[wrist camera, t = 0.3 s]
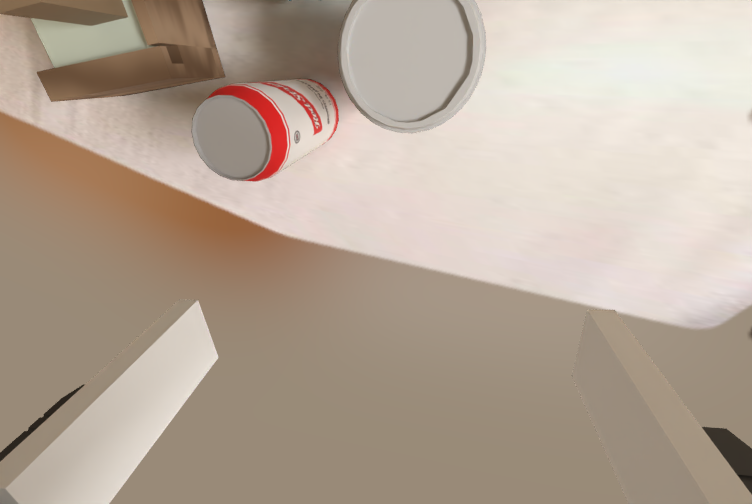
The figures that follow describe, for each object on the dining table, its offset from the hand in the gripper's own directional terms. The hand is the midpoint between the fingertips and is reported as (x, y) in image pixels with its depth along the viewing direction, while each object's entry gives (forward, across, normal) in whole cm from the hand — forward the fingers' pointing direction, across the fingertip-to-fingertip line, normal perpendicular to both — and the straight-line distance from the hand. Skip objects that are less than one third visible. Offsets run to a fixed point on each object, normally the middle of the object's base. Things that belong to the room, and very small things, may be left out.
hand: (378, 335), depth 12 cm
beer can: (+28, -10, +5) cm, 30 cm away
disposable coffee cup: (+28, 0, +9) cm, 29 cm away
